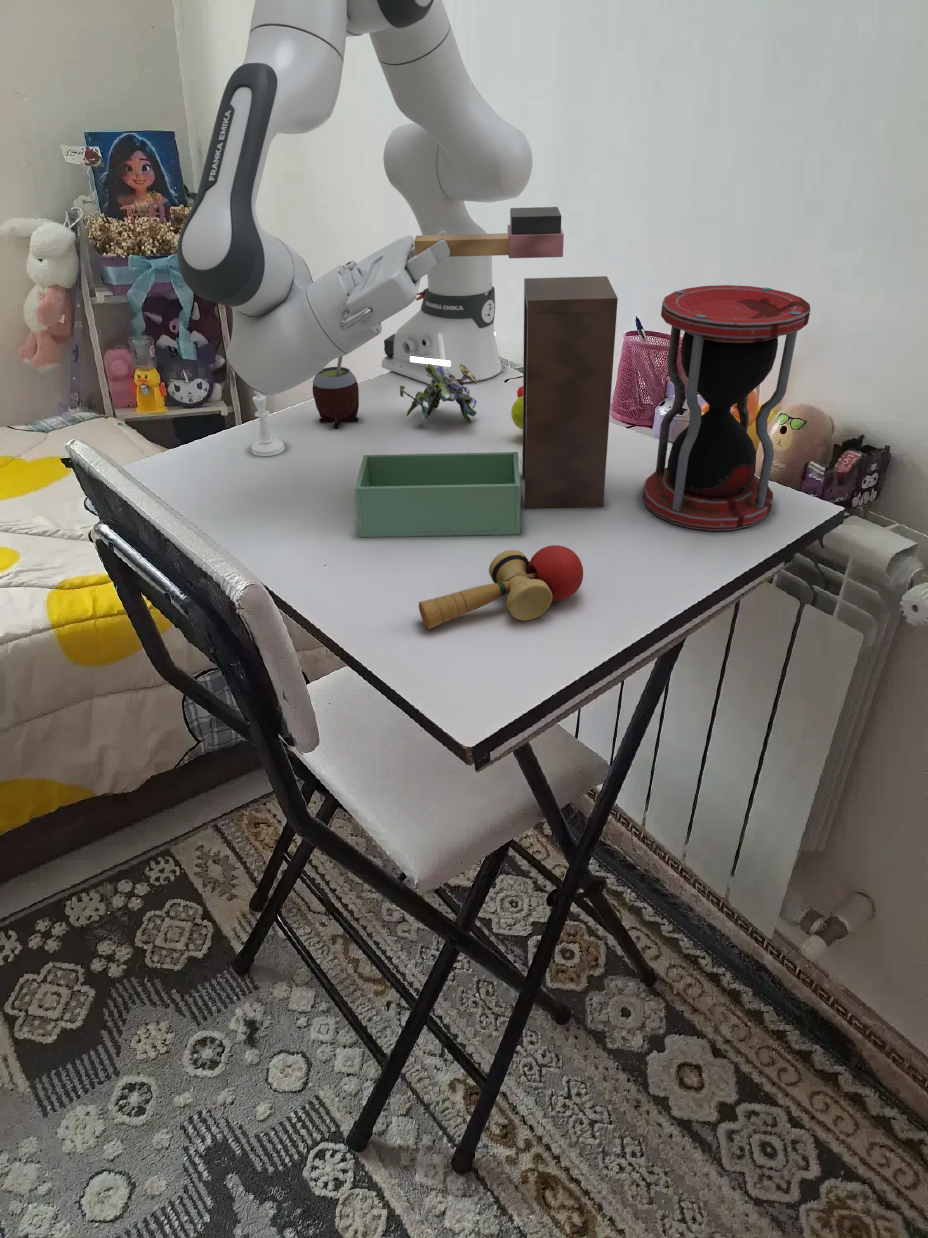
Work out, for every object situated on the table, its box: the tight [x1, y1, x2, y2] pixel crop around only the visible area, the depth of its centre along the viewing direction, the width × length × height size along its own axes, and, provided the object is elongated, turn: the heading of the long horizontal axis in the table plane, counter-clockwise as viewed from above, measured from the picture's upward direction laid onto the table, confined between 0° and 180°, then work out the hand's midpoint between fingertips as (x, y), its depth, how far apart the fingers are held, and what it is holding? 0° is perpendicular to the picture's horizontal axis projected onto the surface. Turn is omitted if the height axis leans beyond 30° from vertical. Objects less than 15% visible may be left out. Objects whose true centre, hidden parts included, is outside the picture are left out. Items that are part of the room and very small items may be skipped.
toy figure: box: [510, 385, 523, 431], centre depth 127 cm, size 18×6×7 cm, turn 0°
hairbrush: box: [414, 206, 565, 259], centre depth 97 cm, size 16×6×4 cm, turn 89°
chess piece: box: [251, 389, 286, 457], centre depth 126 cm, size 5×5×10 cm
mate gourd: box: [312, 356, 360, 430], centre depth 132 cm, size 8×8×15 cm
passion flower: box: [399, 364, 478, 428], centre depth 133 cm, size 11×11×12 cm
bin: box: [354, 451, 522, 538], centre depth 107 cm, size 20×10×7 cm, turn 89°
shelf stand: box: [521, 275, 619, 509], centre depth 107 cm, size 10×10×26 cm
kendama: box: [418, 544, 584, 630], centre depth 90 cm, size 8×6×18 cm
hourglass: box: [641, 284, 811, 532], centre depth 104 cm, size 16×16×25 cm
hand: (448, 241), depth 97 cm, fingers closed on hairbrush, 3 cm apart
